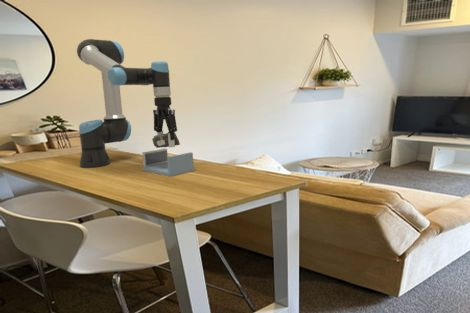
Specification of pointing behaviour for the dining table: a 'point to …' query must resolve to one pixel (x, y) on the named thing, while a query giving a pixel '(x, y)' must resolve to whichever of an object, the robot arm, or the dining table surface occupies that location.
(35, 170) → the dining table surface
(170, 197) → the dining table surface
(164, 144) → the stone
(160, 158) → the jaw
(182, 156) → the vise
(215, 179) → the dining table surface
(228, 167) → the dining table surface
